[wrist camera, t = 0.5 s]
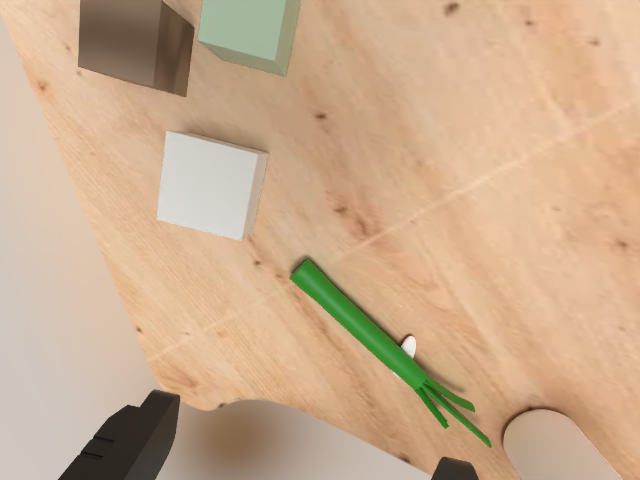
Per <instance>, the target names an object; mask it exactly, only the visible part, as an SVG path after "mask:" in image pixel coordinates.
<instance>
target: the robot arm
mask: <svg viewBox="0 0 640 480" xmlns="http://www.w3.org/2000/svg"><path fill="white" fill-rule="evenodd" d="M179 404H180V395H177V394H173V393H169V392H164V391H160V390H153V391H152V392H151V393H150V394H149V395H148V397H147V398H146V399H145V401H144V402H143V403H142V405H141V406H140V407H135V406H130V405H127V406H125V407H124V408H122V409H121V410H119V411H118V412H117V413H115V414H114V415H112V416H111V417H109V418H108V419H107V421H106V422H105V423H104V424H103V425H102V427H101V428H100V429H99V430H98V432H97V433H96V434H95V435H94V437H93V439H92V440H90V441H89V442H88V444H87V445H86V446H85V447H84V448H83V450H82V451H81V453H80V455H78V456H77V457H76V458H75V459H74V461H73V462H72V463H71V464H70V465H69V467H68V468H67V469H66V470H65V472H64V473H63V474H62V475H61V476H60V478H59V479H58V480H155V479H156V477H157V475H158V473H159V471H160V470H161V468H162V466H163V464H164V462H165V460H166V458H167V456H168V454H169V452H170V449H171V447H172V444H173V441H174V438H175V434H176V427H177V419H178V412H179ZM431 480H479V479H478V476H477V474H476V472H475V469H474V467H473V466H472V464H471V463H469V462H466V461H462V460H457V459H453V458H448V457H442V458H441V460H440V461H439V464H438V466H437V468H436V470H435V472H434V474H433V476H432V479H431Z"/></svg>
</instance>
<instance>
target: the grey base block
mask: <svg viewBox="0 0 640 480" xmlns="http://www.w3.org/2000/svg"><path fill="white" fill-rule="evenodd" d="M268 155H269V153H266V152H263V151H259V150H255V149H251V148H247V147H243V146H240V145H236V144H232V143H228V142H224V141H220V140H216V139H213V138H209V137H205V136H201V135H197V134H193V133H188V132H178V131H167V130H166V138H165V147H164V156H163V165H162V174H161V183H160V192H159V201H158V210H157V219H156V220H160V221H164V222H168V223H172V224H176V225H180V226H184V227H188V228H192V229H196V230H200V231H204V232H208V233H212V234H216V235H220V236H223V237H227V238H231V239H235V240H239V241H242V240H243V239H244V238H245V237H246V236H247V235H248V234H249V233H250V232H251V231H252V230H253V229H254V225H255V220H256V215H257V210H258V205H259V200H260V195H261V190H262V185H263V180H264V175H265V170H266V165H267V160H268Z"/></svg>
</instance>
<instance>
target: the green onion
mask: <svg viewBox="0 0 640 480" xmlns="http://www.w3.org/2000/svg"><path fill="white" fill-rule="evenodd" d="M290 279H291V280H292V281H293V282H294V283H295V284H296V285H297V286H298V287H299V288H301V289H302V290H303V291H304V292H305V293H307V294H308V295H309V296H310V297H312V298H313V299H314V300H315V301H316V302H318V303H319V304H320V305H321V306H322V307H323V308H324V309H325V310H326V311H327V312H328V313H329V314H330V315H332V316H333V317H334V318H335V319H336V320H337V321H338V322H339V323H340V324H341V325H342V326H343V327H344V328H346V329H347V330H348V331H349V332H350V333H351V334H352V335H353V336H354V337H355V338H356V339H357V340H359V341H360V342H361V343H362V344H363V345H364V346H365V347H366V348H367V349H368V350H369V351H371V352H372V353H373V354H374V355H375V356H376V357H377V358H378V359H379V360H380V361H382V362H383V363H384V364H385V365H386V366H387V367H388V368H389V369H390V370H391V371H392V373H393V374H395V375H396V376H398V377H400V378H401V379H403V380H404V381H405V382H406V383H407V384H408V385H410V386H411V387H412V388H413V389H414V390H415V392H416V393H417V394H418V395H419V396H420V397H421V399H422V400H423V401H424V403H425V404H426V406H427V407H428V408H429V409H430V411H431V412H432V413H433V414H434V416H435V417H436V418H437V419H438V421H439V422H440V423H441V424H442V426H443V427H444V428H445V429H446V428H447V427H449V425H448V424H447V420H446V419H445V418H444V417H443V415H442V414H441V413H440V412H439V410H438V409H437V408H436V407H435V405H434V404H433V403H432V402H431V400H430V399H429V397H428V396H427V395H426V393H425V392H424V391H423V390H425V391H426V392H427V393H428V394H429V395H430V396H431V397H433V398H434V399H435V400H436V401H437V402H438V403H439V404H440V405H442V406H443V407H444V408H445V409H446V410H447V411H449V412H450V413H451V414H452V415H453V416H454V417H456V418H457V419H458V420H459V421H460V422H461V423H463V424H464V425H465V426H466V427H467V428H469V429H470V430H471V431H472V432H473V433H474V434H475V435H476V436H478V437H479V438H480V439H481V440H482V441H483V442H484V443H485V444H487V445H488V446H489V447H490V448H491V447H492V446H491V443H490V441H489V439H488V438H487V437H486V436H485V435H484V434H483V433H482V432H481V431H480V430H479V429H478V428H477V427H476V426H474V425H473V424H472V423H471V422H470V421H469V420H468V419H467V418H466V417H465V416H464V415H462V414H461V413H460V412H459V411H458V410H457V409H456V408H455V407H454V406H453V405H452V404H450V403H449V402H448V401H447V400H446V399H445V398H444V397H443V396H442V395H441V394H440V393H442V394H443V395H444V396H446V397H447V398H449V399H450V400H452V401H453V402H455V403H457V404H458V405H460V406H462V407H464V408H466V409H468V410H471V411H473V412H475V408H474V406H473V404H472V403H471V402H469V401H467V400H465V399H462V398H460V397H458V396H456V395H455V394H453V393H452V392H450V391H449V390H447V389H446V388H444V387H443V386H441V385H440V384H439V383H437V382H436V381H434V380H433V379H432V378H431V377H430V376H429V375H428V374H427V373H426V372H425V371H424V370H423V369H422V368H421V367H420V366H419V365H418V364H417V363H416V362H415V361H414V360H413V358H414V354H415V350H416V341H415V338H414V337H413V336H409V337H407V338H406V339H405V341H404V342H403V344H402V346H401V347H399V346H398V345H397V344H396V343H395V342H394V341H393V340H392V339H391V338H389V337H388V336H387V335H386V334H385V333H384V332H383V331H382V330H381V329H380V328H379V327H378V326H377V325H375V324H374V323H373V322H372V321H371V320H370V319H369V318H368V317H367V316H366V315H365V314H364V313H363V312H362V311H361V310H359V309H358V308H357V307H356V306H355V305H354V304H353V303H352V302H351V301H350V300H349V299H348V298H347V297H346V296H345V295H343V294H342V293H341V292H340V291H339V290H338V289H337V288H336V287H335V286H334V285H333V284H332V283H331V282H330V281H329V280H328V279H327V278H326V276H325V275H324V274H323V273H322V272H321V271H320V270H319V269H318V268H317V267H316V266H315V265H314V264H313V263H312V262H311V261H310V260H309V259H307V260H305V261H304V262H303V263H302V264H301V265H300V266H299V267H298V268H297V269H296V270H295V271H294V272H293V273H292V275H291V276H290ZM434 388H435V389H436V390H435V389H434ZM438 391H439V392H440V393H439V392H438Z"/></svg>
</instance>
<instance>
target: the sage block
mask: <svg viewBox="0 0 640 480" xmlns="http://www.w3.org/2000/svg"><path fill="white" fill-rule="evenodd" d="M299 9H300V1H299V0H203V2H202V10H201V18H200V26H199V33H198V41H199V42H200V43H202V44H203V45H204V46H205V47H207V48H208V49H209V50H211V51H212V52H213V53H214V54H216V55H217V56H218V57H220V58H221V59H222V60H224V61H228V62H232V63H235V64H239V65H243V66H247V67H250V68H254V69H258V70H261V71H265V72H269V73H273V74H276V75H280V76H284V77H286V73H287V68H288V63H289V58H290V53H291V48H292V43H293V38H294V33H295V28H296V24H297V19H298V14H299Z"/></svg>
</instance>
